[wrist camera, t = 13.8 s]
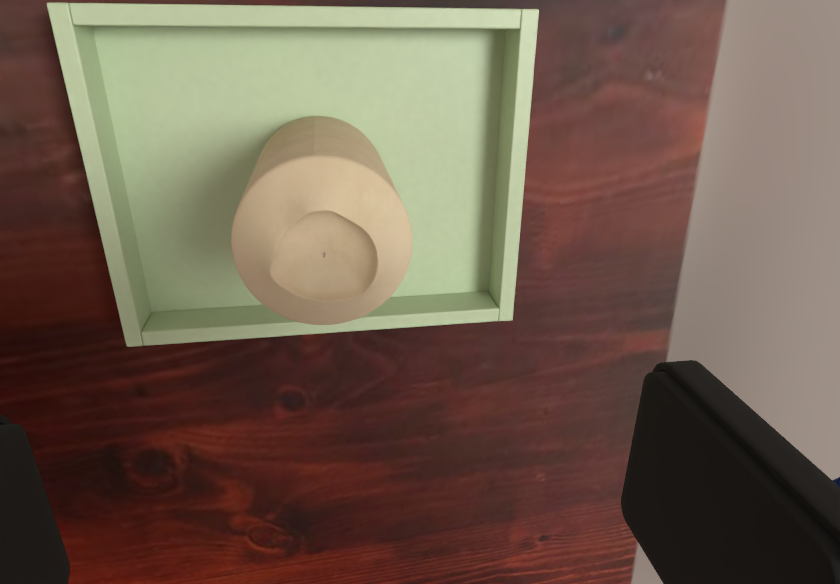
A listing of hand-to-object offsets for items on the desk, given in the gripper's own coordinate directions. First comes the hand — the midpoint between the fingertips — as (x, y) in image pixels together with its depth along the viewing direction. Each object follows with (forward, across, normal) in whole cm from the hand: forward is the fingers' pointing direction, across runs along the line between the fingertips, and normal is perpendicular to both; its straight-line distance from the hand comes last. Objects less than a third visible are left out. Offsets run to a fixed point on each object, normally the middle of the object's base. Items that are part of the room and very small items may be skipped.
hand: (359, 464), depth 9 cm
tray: (+19, +1, 0) cm, 19 cm away
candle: (+19, +1, 0) cm, 19 cm away
